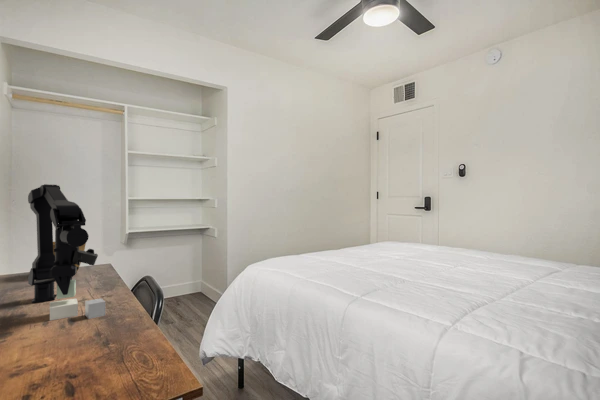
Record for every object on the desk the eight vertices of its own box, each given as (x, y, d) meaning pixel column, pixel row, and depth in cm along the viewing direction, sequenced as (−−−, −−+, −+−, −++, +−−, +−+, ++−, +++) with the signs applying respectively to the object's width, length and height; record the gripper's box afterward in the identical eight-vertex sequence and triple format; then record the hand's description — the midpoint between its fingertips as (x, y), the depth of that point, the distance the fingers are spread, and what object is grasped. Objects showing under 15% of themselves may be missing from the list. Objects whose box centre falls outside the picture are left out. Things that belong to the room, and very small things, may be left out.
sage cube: (58, 295, 104) (58, 281, 104) (75, 293, 106) (75, 279, 106) (56, 298, 100) (56, 284, 100) (74, 296, 102) (74, 282, 102)
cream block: (49, 314, 103) (49, 302, 103) (76, 310, 107) (76, 298, 107) (49, 321, 97) (49, 308, 97) (77, 316, 102) (77, 303, 101)
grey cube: (85, 315, 102) (85, 301, 102) (101, 311, 105) (101, 298, 105) (88, 319, 99) (88, 304, 99) (105, 315, 102) (105, 301, 102)
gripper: (95, 245, 99) (94, 296, 99) (97, 239, 115) (97, 282, 115) (49, 248, 93) (49, 302, 93) (58, 241, 109) (58, 287, 109)
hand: (66, 292), depth 103 cm, fingers closed on sage cube, 4 cm apart
